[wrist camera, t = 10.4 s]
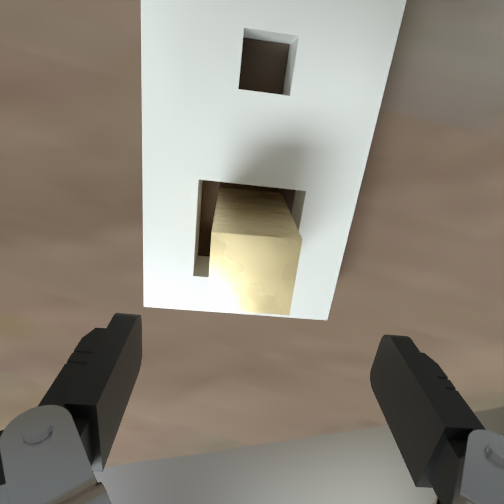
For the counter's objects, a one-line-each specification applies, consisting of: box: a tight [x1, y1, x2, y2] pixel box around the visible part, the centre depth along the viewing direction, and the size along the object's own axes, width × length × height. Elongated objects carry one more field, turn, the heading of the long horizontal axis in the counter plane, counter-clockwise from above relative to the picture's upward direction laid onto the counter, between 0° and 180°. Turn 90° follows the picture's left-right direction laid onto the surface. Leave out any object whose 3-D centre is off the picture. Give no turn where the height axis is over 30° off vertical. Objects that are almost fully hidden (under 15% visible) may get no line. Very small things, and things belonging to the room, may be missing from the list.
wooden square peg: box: [207, 187, 303, 315], centre depth 20 cm, size 4×4×8 cm
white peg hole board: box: [141, 0, 406, 320], centre depth 20 cm, size 12×20×3 cm, turn 173°
